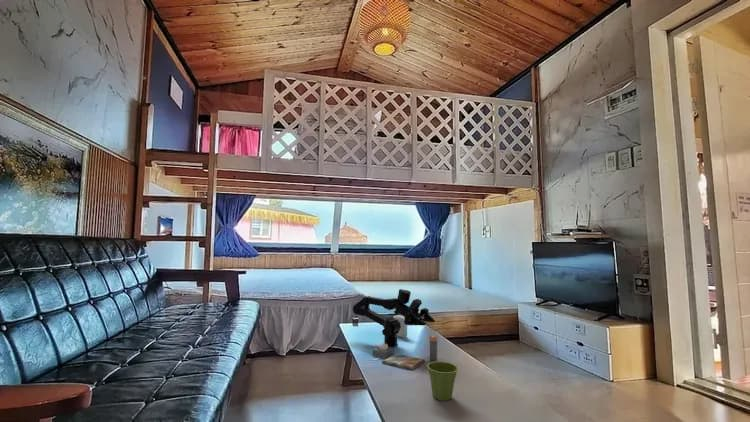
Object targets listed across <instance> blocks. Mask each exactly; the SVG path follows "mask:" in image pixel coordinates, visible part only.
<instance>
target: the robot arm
mask: <svg viewBox="0 0 750 422" xmlns="http://www.w3.org/2000/svg"><path fill="white" fill-rule="evenodd" d="M411 293H412V292H411V291H410V290H407V289H402V288H400V289H398V295H397V298H396V297H395V298H392V297H391V298H382V297H376V296H375V297H374V296H369V295H368V296H363V298H362V299H361V300H360V301H358V302H357V303H355V304H354V305H353V306H352V311H353V314H354V315H357V316H361V317H362V316H364V317H365V318H367V319H369V320H371V321H374V322H375V323H377V324H378V325H381V326H382V328H383V329H382V330H381V332H382V335H383V336H384V337H383V339H384V342H383V344H388V347H391V348H395V347H396V346H398V345H399V343H398V336H397V333H399V330H400V328H401V325H400V322H399V321H397V320H398V319H395V318H393V317H394V316H397V315H401V316H404V318H405V319H404V323H405V324H406V325H407V326H426V323H435V322H436V320H435V318H433V317H432V316H431V315H430V313H429V309H428V308H427V307H424V308H423V307H422V308H421V309H419V308H420V307H421V305H422V304H423V302H422V300H421V299H420V298H416V299H415V298H414V299H413V300H412V302H411V303H410V298H411ZM409 303H410V305H407V304H409ZM370 305H374V306H379V307H383V308H384V309H386V310H388V311H393V310H394V311H393V314H394V316H391V317H387V318H386V317H385V316H383V315H382V314H379V313H377V312H375V311H374V310H372V309H370Z"/></svg>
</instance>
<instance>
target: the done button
mask: <svg viewBox="0 0 750 422" xmlns="http://www.w3.org/2000/svg"><path fill="white" fill-rule="evenodd" d="M378 347H379V350H383V351H386V350H388V344H384V343H379V344H378Z"/></svg>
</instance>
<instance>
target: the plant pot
mask: <svg viewBox="0 0 750 422" xmlns="http://www.w3.org/2000/svg"><path fill="white" fill-rule="evenodd" d="M426 367H427V369H428V373H429V378H430V385H431V392H432V393H431V394H432V397H433V398H434V399H437V400H439V401H445V402H446V401H449V400H450V399H452V397H453V392H454V388H455V387H454V385H455V382H456V381H455V379H456V376H457V373H458V372H459V367H458V366H457V365H455V364H454V363H451V362H447V361H437V362H431V363H430V362H429V363H427V365H426Z"/></svg>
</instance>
